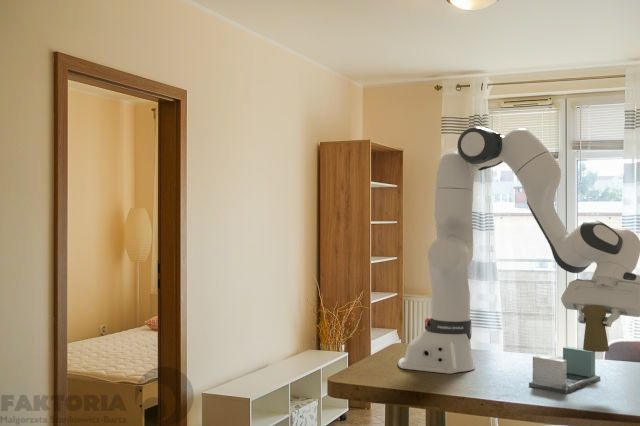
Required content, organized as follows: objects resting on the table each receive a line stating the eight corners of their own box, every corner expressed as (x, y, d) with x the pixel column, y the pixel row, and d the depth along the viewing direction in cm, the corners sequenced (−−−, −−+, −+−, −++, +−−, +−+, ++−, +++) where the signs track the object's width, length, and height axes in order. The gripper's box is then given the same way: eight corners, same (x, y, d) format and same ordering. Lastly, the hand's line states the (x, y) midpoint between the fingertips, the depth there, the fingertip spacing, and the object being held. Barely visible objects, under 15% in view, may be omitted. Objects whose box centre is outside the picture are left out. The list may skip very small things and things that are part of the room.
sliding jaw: (591, 377, 179) (591, 351, 179) (562, 372, 185) (562, 347, 185) (595, 375, 181) (595, 350, 181) (566, 370, 186) (566, 346, 186)
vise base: (565, 394, 166) (565, 362, 166) (529, 386, 173) (529, 356, 173) (600, 379, 181) (600, 350, 181) (565, 373, 188) (565, 345, 188)
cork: (583, 351, 162) (581, 306, 163) (582, 347, 168) (581, 304, 168) (609, 352, 160) (608, 307, 161) (608, 348, 166) (607, 304, 166)
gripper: (567, 271, 177) (550, 310, 170) (647, 276, 162) (632, 320, 155) (574, 286, 180) (558, 326, 173) (654, 293, 165) (639, 337, 158)
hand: (593, 323), depth 164 cm, fingers closed on cork, 5 cm apart
